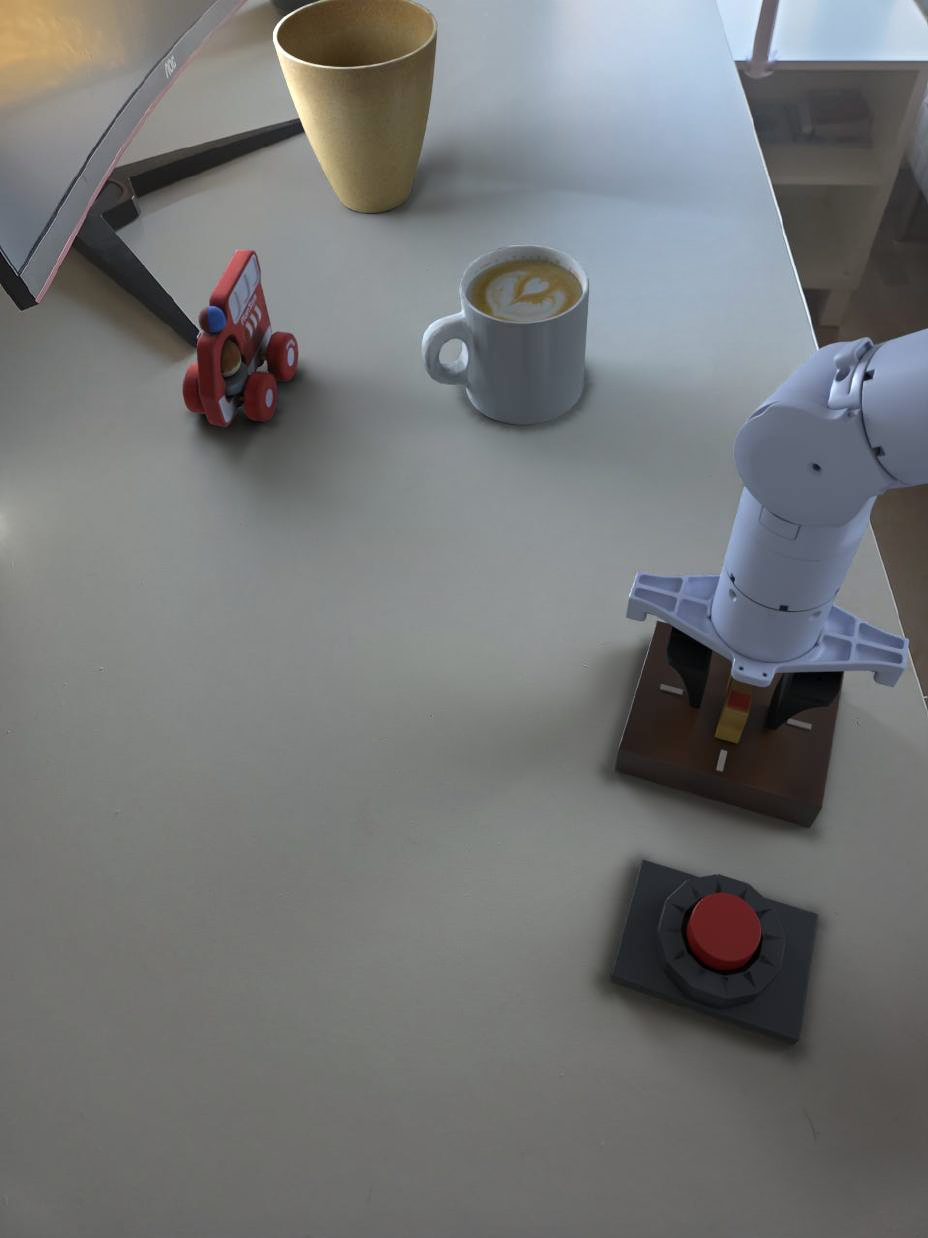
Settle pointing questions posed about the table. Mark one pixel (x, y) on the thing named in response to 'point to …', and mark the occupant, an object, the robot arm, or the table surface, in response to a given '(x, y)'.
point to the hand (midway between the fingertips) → (734, 704)
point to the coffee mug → (517, 334)
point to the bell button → (723, 931)
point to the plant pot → (362, 92)
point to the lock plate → (725, 742)
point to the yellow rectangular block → (734, 710)
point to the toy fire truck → (238, 349)
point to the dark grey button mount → (671, 972)
